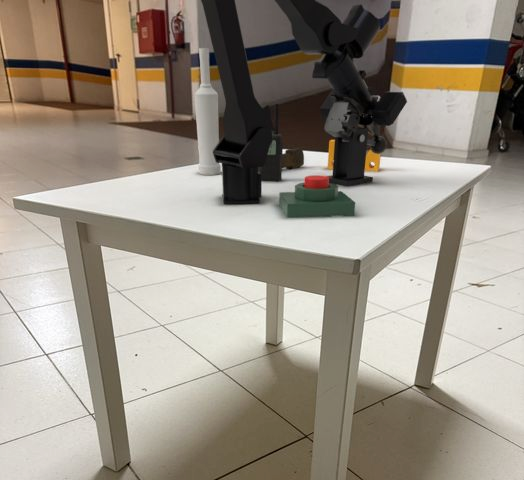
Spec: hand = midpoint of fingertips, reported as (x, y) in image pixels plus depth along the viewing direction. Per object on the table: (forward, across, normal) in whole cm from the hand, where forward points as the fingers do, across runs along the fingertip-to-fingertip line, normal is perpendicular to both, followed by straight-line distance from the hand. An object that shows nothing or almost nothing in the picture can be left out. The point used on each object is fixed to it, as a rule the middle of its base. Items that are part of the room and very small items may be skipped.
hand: (377, 136), depth 106 cm
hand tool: (-1, -21, -13) cm, 25 cm away
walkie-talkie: (-8, -12, -20) cm, 25 cm away
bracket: (0, 0, -12) cm, 12 cm away
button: (-19, +14, -25) cm, 34 cm away
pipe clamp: (+10, -11, -2) cm, 16 cm away
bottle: (-12, -28, -24) cm, 38 cm away
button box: (-16, +14, -28) cm, 35 cm away
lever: (-1, 0, -5) cm, 5 cm away
